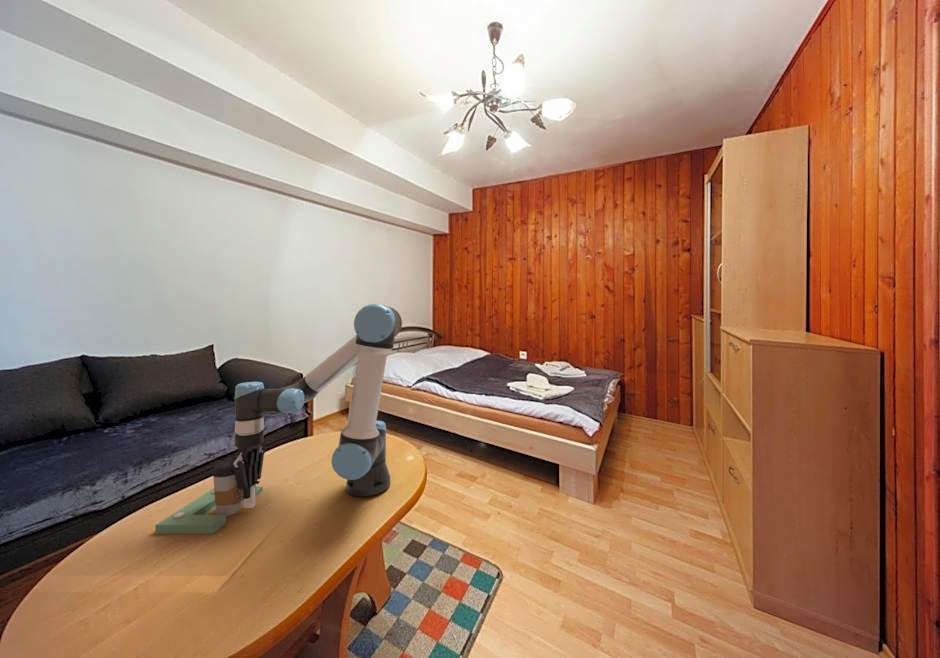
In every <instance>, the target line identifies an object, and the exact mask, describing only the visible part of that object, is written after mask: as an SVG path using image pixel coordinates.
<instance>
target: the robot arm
mask: <svg viewBox="0 0 940 658" xmlns="http://www.w3.org/2000/svg"><path fill="white" fill-rule="evenodd" d="M402 326H403V320H402V317H401V315H400V313H399V312H398V311H397V310H396V309H394V307H391V306H388V305H385V304H381V303H371V304H367V305H365V306H363V307H362V308H360V309H359V310H358V311H357V313H356V315H355V316H354V320H353V328H354V331H355V333H356V335H353V337H352V338H350V339H349V340H348V341H347V342H345V343H344V344H343V345H342V346H340V348H338V349H337V350H335V352H333V353H332V354H331V355H329V356H328V357H327V358H326V359H325V360H323V361H322V362H320V363H319V364H318V365H317V366H316V367H314V369H312V370H311V371H310V372H308V373H307V374H306V375H305V376H304V377H302V378H301V379H300V380H298V381H297V382H295V383H294V384H291V385H287V386H285V387H281V388H265V386H264V383H263V382H261V381H249V382H248V381H246V382H241V383H238V384H236V385H235V389H234V397H233V401H234V433H235V435H234V447H235V448H237V454H236V455H237V458H236V459H235V460H236V461H232V462H231V465H232V467H233V468H234V473H235V478H236V483H237V488H238V489H243V498H244V499H243V508H244V509H253V508H254V507H256V497H255V492H256V487H257V485H259V484H260V479H261V478H262V472H263V471H262V470H263V464H264V463H263V462H264V459H265V457H264V456H265V453H266V451H267V450H266V449H267V447H266V446H262V445H261V444H263V443H264V438H265V437H264V430H263V429H264V428H265V427H264V426H265V425H264V422H265V421H264V418H265V417H264V414H286V415H287V414H290V413H291V414H292V413H294V414H295V413H298V412H300V411H301V410H302V408H303V407H304V404H305V403H308V402H309V403H310V402H311V401H312V400H313V399H315V398H316V397H317V395H318V394H319V393H320V392H321V391H322V390H323V389H325V388H326V387H327V386H328V385H330V384H332V382H334V381H335V380H336V379H337V378H339V377H340V376H341V375H342V374H344V373H345V372H346V371H347V370H349V369H350V368H351V367H352V366H354V365H355V364H356V369H355V376H354V379H353V380H354V381H353V387H352V394H351V397H350V398H351V400H350V405H349V412H348V418H347V424H346V425H345V426H344V427H343V428H341V429H340V434H339V441H338V446H337V447H336V448H335V449H334V451H333V453H332V456H331V461H330V462H331V467H332V469H333V472H335V473H336V474H337V475H338V477H340V478H342V479H345V480H346V482H345V483H346V484H345V485H346V486H345V487H346V488H345V489H346V490H345V491H346V492H347V493H348V494H350V495H351V496H355V497H369V496H375V495H377V494H380V493H382V492H385V491H386V490H387V489H389V487H390V486H391V474H390V472H389V468H388V465H387V462H386V456H387V455H386V454H387V451H386V450H387V449H386V448H387V447H386V446H387V443H386V442H387V425H386V423H385V422H384V421H382V420H377V419H378V418H377V417H378V414H379V406H380V399H381V395H382V394H381V393H382V387H383V382H384V377H385V376H384V374H385V371H386V369H385V368H386V364H387V357H388V353H391V351H393V350H394V343H395V338H396V337H397V335H398V334H399V333H400V332H401V329H402V328H403V327H402Z"/></svg>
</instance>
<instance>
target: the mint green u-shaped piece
mask: <svg viewBox="0 0 940 658" xmlns="http://www.w3.org/2000/svg"><path fill="white" fill-rule="evenodd" d="M262 491H264V487H263V486H256V492H255V498H256V497H258V495H260V494H261V493H262ZM242 500H244V498H242ZM215 507H216V504H215V495H214V488H212V489H210V490H209V491H207V492H206V493H204V494H202V495H201V496H199V497H198V498H196V499H195V500H193V501H191V502H189V503H188V504H186V505H185V506H183V507H182V508H180V509H178V510H177V511H176V512H174V513H172V514H171V515H169V516H168V517H166V518H164V519H163V520H161V521H160V522H158V523H156V524H155V535H213V534H216V532H217V531H219V530H220V529H222V527H224V526H225V525H226V524H227V517H226V515H217V514H207V513H208V512H210V511H211V509H213V508H215Z"/></svg>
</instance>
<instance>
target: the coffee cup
mask: <svg viewBox="0 0 940 658" xmlns="http://www.w3.org/2000/svg"><path fill="white" fill-rule="evenodd" d="M232 461H236V459H229V460H225V461H222V462H219V463H218V464H216V465H215V466H214V469H213V470H212V476H213V489H214V495H215V504H216V505H215V515H226V518H227V517H230V516H233V515H236V514H237V513H239V512H240V511H241V508H242V507H243V499H242V498H243V489H238V488H237V483H236V478H235V473H234V468H233V467H232V465H231V462H232Z"/></svg>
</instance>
